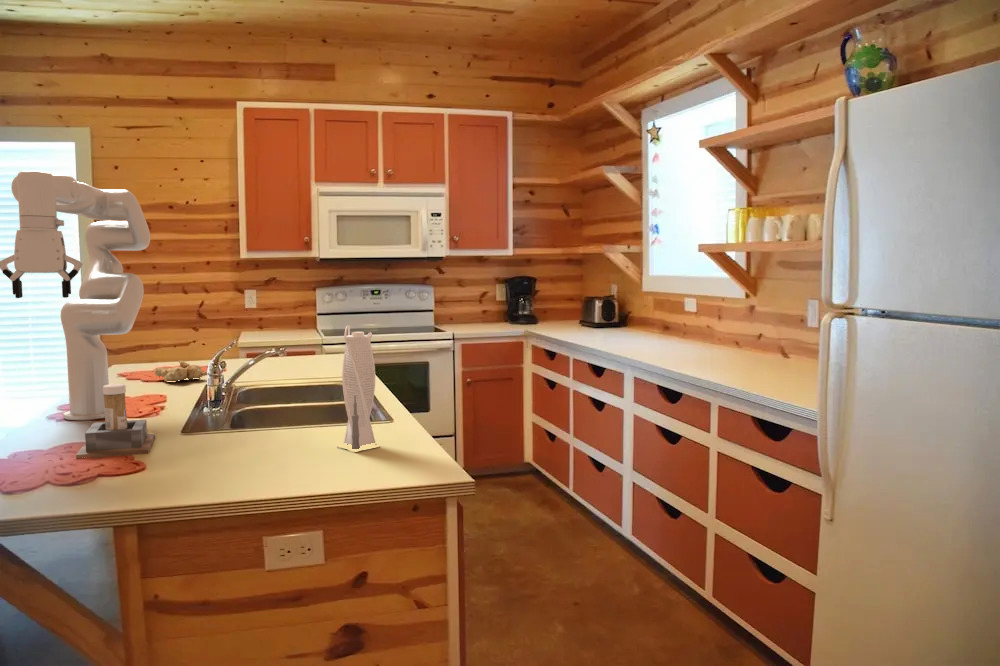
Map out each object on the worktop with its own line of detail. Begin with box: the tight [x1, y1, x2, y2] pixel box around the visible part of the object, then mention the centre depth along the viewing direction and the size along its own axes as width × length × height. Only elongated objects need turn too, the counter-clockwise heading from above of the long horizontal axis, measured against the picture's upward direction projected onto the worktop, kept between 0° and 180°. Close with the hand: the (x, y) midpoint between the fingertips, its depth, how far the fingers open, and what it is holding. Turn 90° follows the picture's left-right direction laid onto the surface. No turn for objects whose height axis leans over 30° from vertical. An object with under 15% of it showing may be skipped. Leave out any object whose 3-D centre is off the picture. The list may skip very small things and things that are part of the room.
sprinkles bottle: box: [103, 383, 128, 430], centre depth 169 cm, size 5×5×14 cm
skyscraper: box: [341, 323, 376, 449], centre depth 170 cm, size 8×8×28 cm
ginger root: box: [153, 359, 208, 382], centre depth 260 cm, size 16×16×8 cm
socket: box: [75, 419, 156, 459], centre depth 170 cm, size 16×14×6 cm
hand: (42, 297), depth 177 cm, fingers open, 9 cm apart
